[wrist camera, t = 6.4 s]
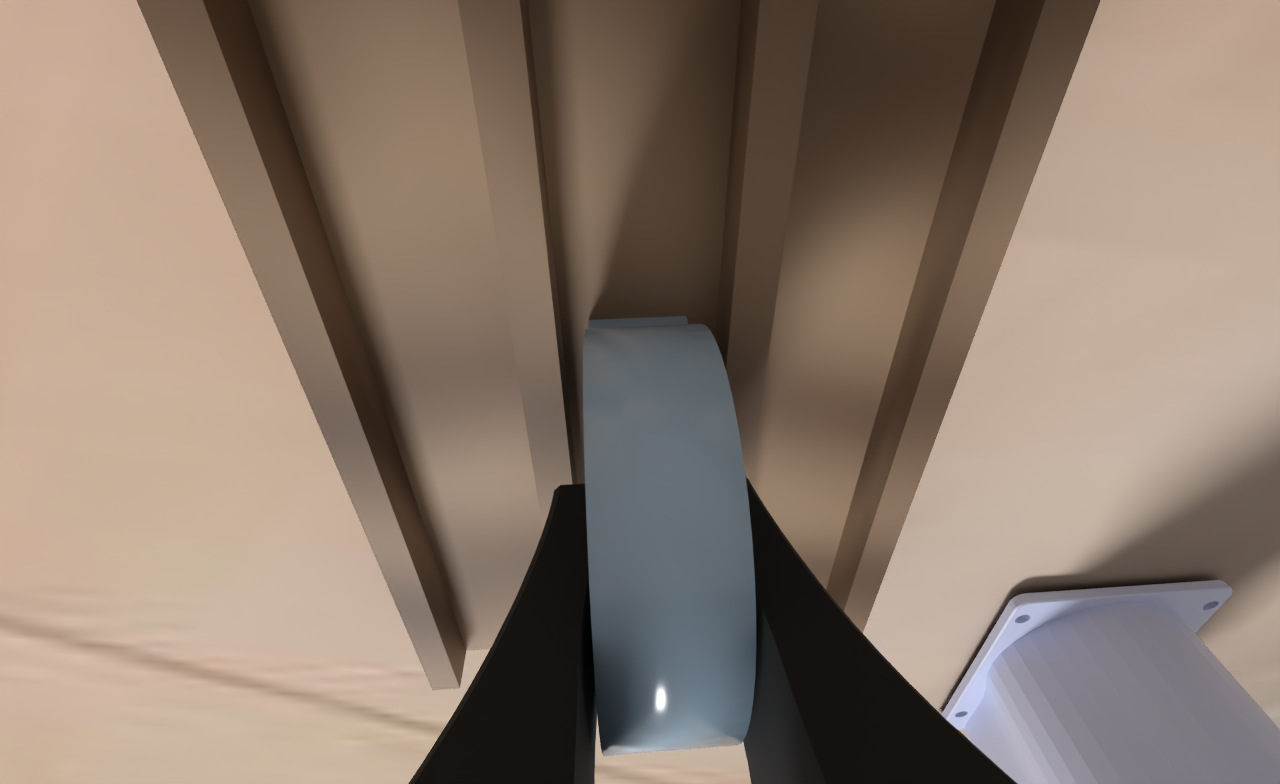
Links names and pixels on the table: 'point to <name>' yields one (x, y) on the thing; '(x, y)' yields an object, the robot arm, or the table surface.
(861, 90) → the rack
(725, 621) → the blue-grey thick rounded disc
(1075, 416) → the table surface
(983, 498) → the table surface
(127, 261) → the table surface
